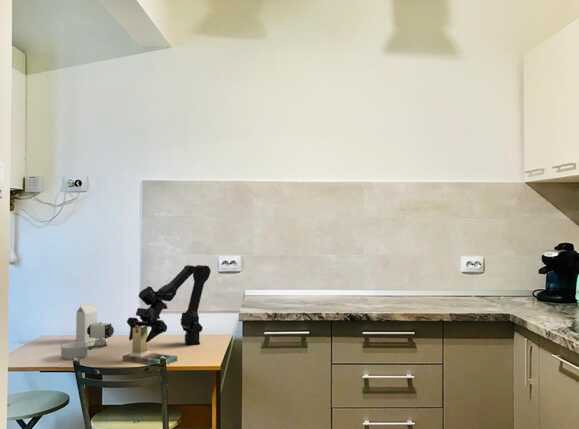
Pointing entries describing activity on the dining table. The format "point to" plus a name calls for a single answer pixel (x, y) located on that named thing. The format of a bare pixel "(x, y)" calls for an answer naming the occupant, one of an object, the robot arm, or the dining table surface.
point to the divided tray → (148, 358)
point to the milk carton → (85, 322)
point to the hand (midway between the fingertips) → (137, 340)
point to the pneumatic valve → (100, 332)
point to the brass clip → (139, 339)
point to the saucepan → (76, 350)
